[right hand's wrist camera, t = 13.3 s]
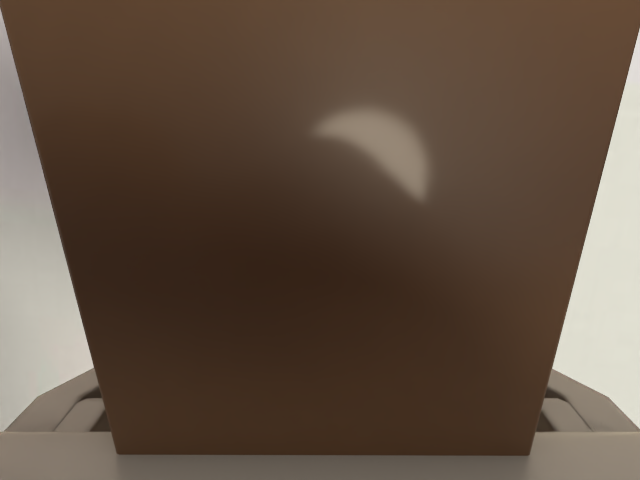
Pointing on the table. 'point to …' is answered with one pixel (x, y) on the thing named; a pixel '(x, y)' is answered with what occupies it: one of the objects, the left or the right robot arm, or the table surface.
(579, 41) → the bar
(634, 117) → the table surface
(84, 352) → the table surface
